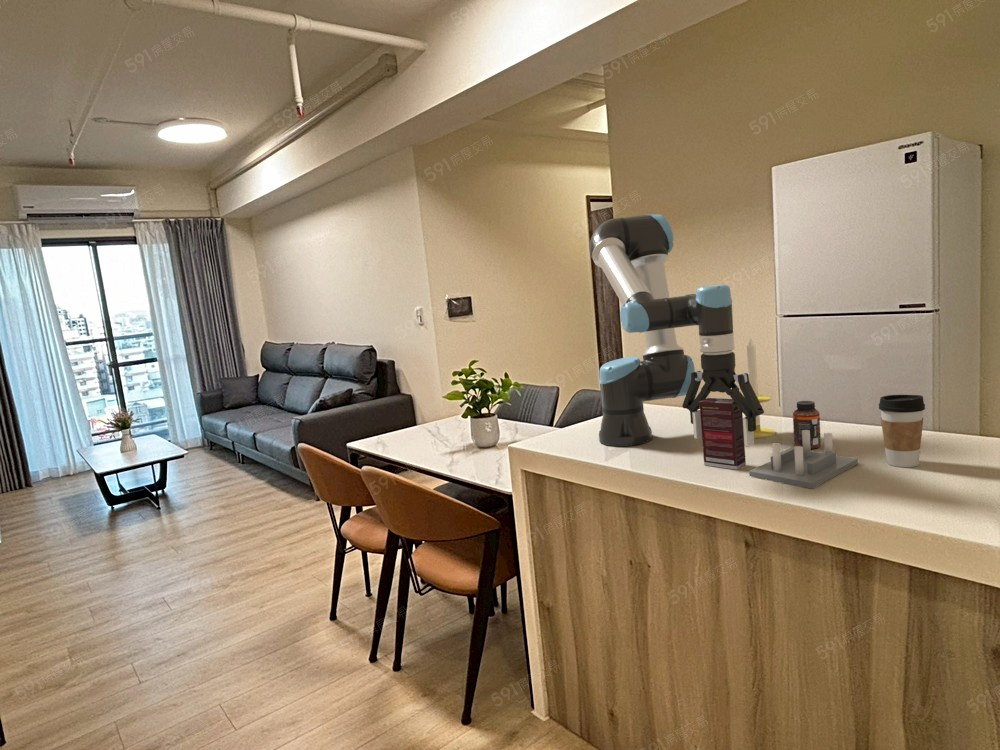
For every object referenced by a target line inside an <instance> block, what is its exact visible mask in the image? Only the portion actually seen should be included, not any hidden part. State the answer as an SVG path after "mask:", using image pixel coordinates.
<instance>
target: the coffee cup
mask: <svg viewBox="0 0 1000 750" xmlns="http://www.w3.org/2000/svg"><path fill="white" fill-rule="evenodd" d="M878 410H880V414H881V417H880V422H881V430H882V437H883V443H884V445H883V446H884V450H885V451H884V452H885V461H886V463H887V464H888V465H889V466H892V467H895V468H896V467H898V468H915V467H917V466H919V465H920V456H921V446H922V444H921V443H922V435H923V424H924V417H923V414H924V411H925V410H926V404H925V401H924V396H923V395H919V394H888V395H887V394H886V395H883V396H881V397H880V398H879V403H878Z"/></svg>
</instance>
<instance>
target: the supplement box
mask: <svg viewBox="0 0 1000 750" xmlns="http://www.w3.org/2000/svg"><path fill="white" fill-rule="evenodd" d="M699 403H700V409H699V410H700V417H701V429H702V437H701V441H702V453H703V465H704V466H710V467H714V468H715V467H716V468H723V469H724V468H725V469H730V470H739V469H741V468H742V467H743V466H745V465H746V463H747V461H746V448H745V447H746V446H744V431H743V418H744V417H743V416H744V413H743V412H742V411H741V409H740V408H739V407H738V406H737V404H736V403H735V402H734V400H733V399H732V398H721V397H720V398H718V397H707V398H706V399H704V400H702V401H699Z"/></svg>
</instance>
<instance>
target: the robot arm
mask: <svg viewBox="0 0 1000 750" xmlns="http://www.w3.org/2000/svg"><path fill="white" fill-rule="evenodd" d="M673 232H674V231H673V230H672V226H671V223H670V222H669V220H668V219H667V218H666V217H665V216H664V215H662V214H659V213H658V214H656V213H655V214H647V213H646V214H645V215H643V214H642V215H636V216H635V215H634V216H627V217H615V218H611V219H610V218H609V219H608V220H606V221H604V222H602V223H601V224H600V225H599V226H598V227H596V229H595V230H594V231H593V234H592V235H591V238H590V241H589V254H590V257H591V259H592V261H593V263H594V264H595V266H597V267H599V268H601V270H602V271H603V273H604V275H605V277H606V278H607V280H608V282H609V284H610V286H611V287H612V289H613V291H614V292H615V294H616V296H617V297H618V300H619V301H620V303H621V307H620V313H619V316H620V318H619V319H620V323H621V326H622V329H623V330H624V331H625V332H627V333H628V334H629V333H630V334H631V333H632V334H633V333H639V334H642V333H644V337H645V339H644V340H645V344H646V349H645V351H644V352H643V354H642V360H640V357H637V356H628V357H621V358H617V359H614V360H611V361H608V362H605V363H603V364H602V365H601V366H600V368H599V381H598V382H599V386H600V395H601V396H600V397H601V407H602V419H601V424H600V430H599V432H598V441H599V443H601V444H603V445H607V446H612V447H628V446H636V445H641V444H645V443H648V442H649V441H651V440H652V439H653V433H652V432H653V431H652V428H651V427H650V426H649V422H648V419H647V417H646V414H645V411H644V410H645V409H644V402H651V401H657V400H663V399H664V400H665V399H674V398H677V397H682V396H683V397H684V396H685V397H684V399H683V403H682V408H683V409H686V410H688V411H689V415H690V423H691V425H692V426H693V436H694V437H693V438H694V439H697V440H698V439H699V438H702V429H701V417H700V403H699V401H702V400H704V399H707V398H708V397H709V395H710V393H711V392H712V393H717V392H718V393H722V394H723V393H725V394H726V395H727V396H729V397H730V399H733V400H734V402H735V403H736V404H737V406H738V407H739V408H740V409H741V411H742V414H743V416H745V417H743V431H744V446H745V447H749V446H752V445H754V444H755V438H754V432H753V431H755V430H756V416H758V415H760V416H761V415H763V414H765V411H764V409H763V406H762V405H761V403H760V402H759V400H758V398H757V396H756V394H755V392H754V390H753V388H752V386H751V384H750V382H749V375H748V372H744V373H740V374H737V373H736V372H735V371H736V354H735V352H734V351H733V350H735V348H736V347H735V336H734V335H735V334H734V320H733V317H734V316H733V298H732V294H731V287H730V286H729V285H727V284H715V285H714V284H713V285H705V286H701V287H700V286H699V287H698V288H697V290H696V293H690V294H685V295H680V296H674V297H670V292H669V288H668V285H669V284H668V279H667V274H666V267H665V263H666V261H667V260H668V259H669V253H670V252H671V251H672V250H673V247H674V233H673ZM692 326H698V335H699V348H700V349H699V350H700V352H701V353H702V354H700V365H701V366H700V367H701V370H702V371H701V370H697V371H696V367H695V364H694V361H693V358H692V357H691V356H690V355H688V354H685V350H684V348H683V347H682V346H680V345H679V344H678V342H677V336H676V330H675V328H676V329H677V328H684V327H692ZM702 381H704V384H703V385H702V387H701V388H700V386H701V383H702ZM735 382H736V383H735ZM737 384H738V385H737ZM699 388H700V391H699ZM698 391H699V393H698ZM697 393H698V394H697Z"/></svg>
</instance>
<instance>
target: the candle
mask: <svg viewBox="0 0 1000 750" xmlns="http://www.w3.org/2000/svg"><path fill="white" fill-rule="evenodd" d="M746 352H747V353H746V356H747V370H748V372H747V374H748V376H749V382H750V384H751V386H752V388H753V390H754V392H755V394H756V396H757V398H758V400H759V402H760V404H761V403H767V402H769V401H771V397H770V396H768V395H762V394H761V395H760V394H759V393H758V392H759V390H758V373H757V371H758V370H757V354H756V345H755V344H754V342H753V339H752V337H751V336H750V338H749V341H748V344H747V346H746ZM753 432H754V439H763V438H764V439H765V438H769V437H772V436H775V435H776V431H775V430H774V429H772V428H767V427H761V415H758V416H756V430H755V431H753Z"/></svg>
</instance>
